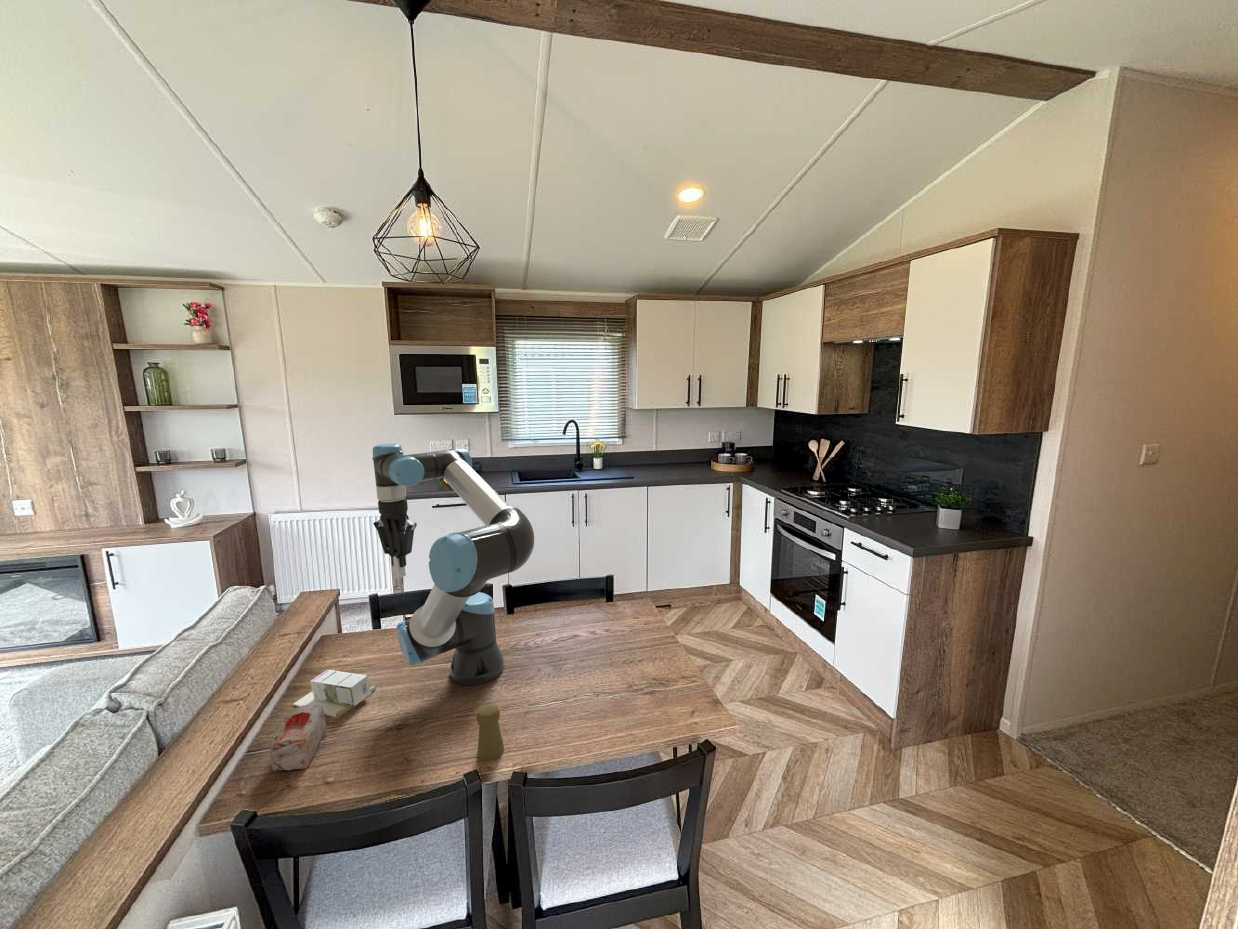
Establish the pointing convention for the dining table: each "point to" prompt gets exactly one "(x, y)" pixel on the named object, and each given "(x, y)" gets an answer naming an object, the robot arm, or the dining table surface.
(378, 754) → the dining table surface
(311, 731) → the food item
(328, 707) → the trivet
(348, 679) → the syrup box
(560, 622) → the dining table surface
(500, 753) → the olive green shaker
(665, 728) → the dining table surface
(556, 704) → the dining table surface
